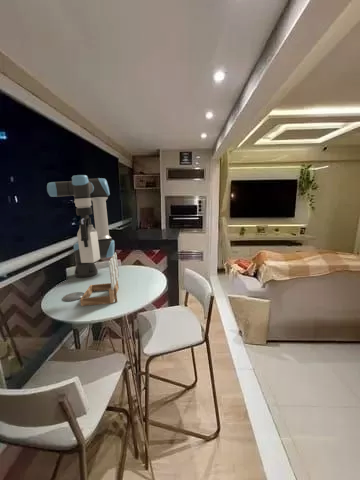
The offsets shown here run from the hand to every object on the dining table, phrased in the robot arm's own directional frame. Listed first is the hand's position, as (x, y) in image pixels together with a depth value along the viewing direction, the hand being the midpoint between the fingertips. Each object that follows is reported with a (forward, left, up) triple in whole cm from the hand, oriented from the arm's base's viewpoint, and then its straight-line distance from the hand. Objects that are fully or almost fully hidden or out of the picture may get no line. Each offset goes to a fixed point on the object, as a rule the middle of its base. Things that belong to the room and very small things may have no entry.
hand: (89, 251), depth 133 cm
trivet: (-2, -12, -25) cm, 28 cm away
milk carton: (0, 0, -6) cm, 6 cm away
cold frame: (+1, +3, -25) cm, 25 cm away
